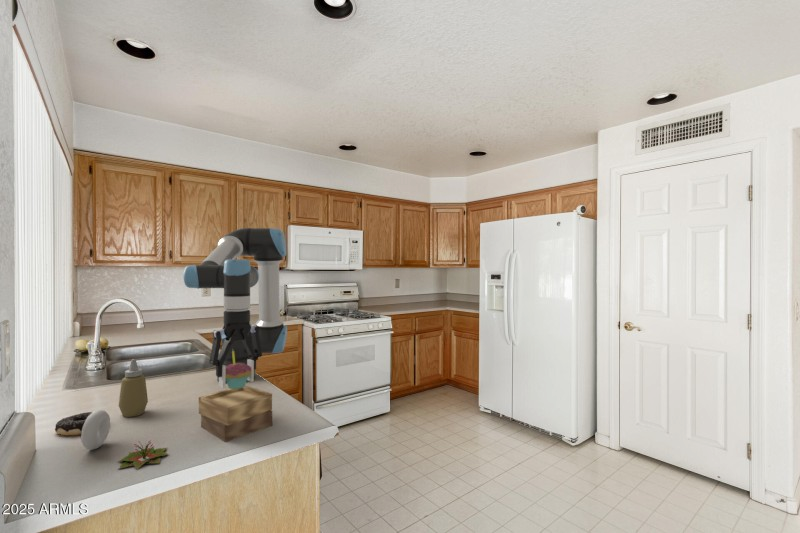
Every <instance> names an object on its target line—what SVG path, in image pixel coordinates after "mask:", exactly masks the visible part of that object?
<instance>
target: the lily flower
mask: <svg viewBox="0 0 800 533" xmlns="http://www.w3.org/2000/svg"><path fill="white" fill-rule="evenodd" d="M146 441H147V439H146ZM151 443H152V440H149V441H148V443H147V444H146V442H145V444H144V445H145V446H143V445H142V444H141V442H139V444H140V446H139V445H138V444H136V443H134V444H133V445H134V447H135V451H129V452H128V454H127V455H126V456H125V457H123V458H121V459H120V460H118V461H117V462H118V463H119V462H123V463H122V464H121V465H120V466H119V468H117V470H120V469H123V468H127V467H133V466H134V467H135V468H136V470H139V468H141V467H142V466H143V465H144V464H145V465H146V464H148V465H149V464H160V461H161V458H160V457H161V456H169V455H171V454H170V453H167V452H166V450H167V447H160V448H156V449H155V445H154V443H152V444H151ZM153 445H154V446H153ZM137 448H138V449H137ZM139 449H140V450H139ZM146 458H147V459H146ZM140 459H143V460H140ZM150 460H151V461H150ZM124 461H125V462H124Z"/></svg>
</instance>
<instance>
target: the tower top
mask: <svg viewBox="0 0 800 533" xmlns="http://www.w3.org/2000/svg"><path fill="white" fill-rule="evenodd" d="M269 410H272V411H273V393H271V392H268V391H264V390H261V389H259V388H255V387H251V386H248V385H246V384H245V386H244V387H242V388H239V389H230V388H225V389H222V390H220V391H216V392H212V393H208V394H206V395H201V396H198V414H199V415H200V416H201V415H203V416H206V417H208V418H210V419H213V420H215V421H218V422H220V423H223V424H225V425H227V426H228V425H231V424H234V423H236V422H239V421H242V420H245V419H247V418H250V417H253V416H256V415H258V414H261V413H264V412H267V411H269Z"/></svg>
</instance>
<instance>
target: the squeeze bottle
mask: <svg viewBox="0 0 800 533" xmlns="http://www.w3.org/2000/svg"><path fill="white" fill-rule="evenodd" d="M146 380H147V379H146V376H145V375H144V374H143V370H142V368H139V367H138V363H137V359H136V358H133V359H131V361H130V364H129V368H128V369H126V370H125V371H124V377H123V378H122V379H121V383H120V389H119V390H120V392H119V401H118V408H119V410H120V413H121V415H122V416H123V417H127V418H129V417H131V418H132V417H136V416H140V415H142V414H144V413H145V410H146V408H147V405H148V403H149V399H148V390H147V382H146Z"/></svg>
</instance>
